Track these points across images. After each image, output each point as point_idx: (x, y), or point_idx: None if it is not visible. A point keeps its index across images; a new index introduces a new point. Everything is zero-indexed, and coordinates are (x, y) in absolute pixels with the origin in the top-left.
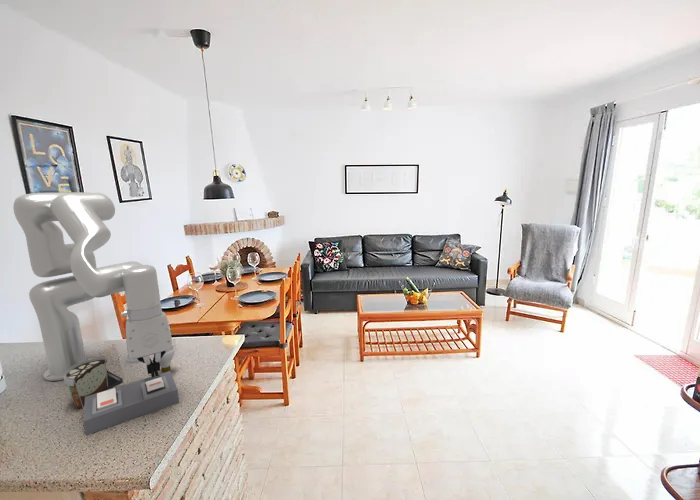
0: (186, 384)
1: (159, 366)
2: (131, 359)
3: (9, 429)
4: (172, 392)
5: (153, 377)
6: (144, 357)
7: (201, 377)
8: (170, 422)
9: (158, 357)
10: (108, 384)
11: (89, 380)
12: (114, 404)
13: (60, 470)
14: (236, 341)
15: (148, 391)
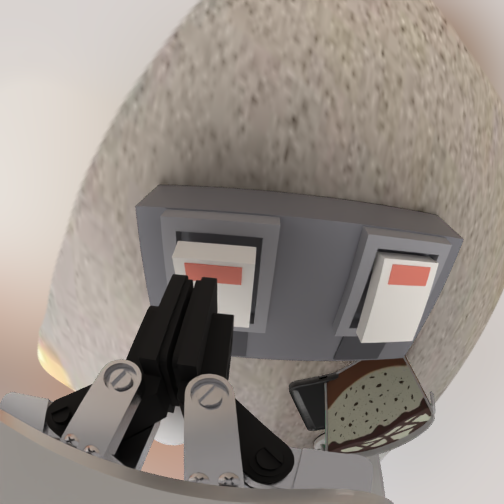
0: (129, 274)
1: (142, 329)
2: (345, 470)
3: (476, 337)
4: (159, 204)
5: None
6: (226, 461)
7: (90, 278)
8: (210, 71)
9: (104, 395)
10: (320, 388)
11: (379, 404)
12: (388, 255)
13: (493, 115)
14: (40, 356)
15: (252, 247)
